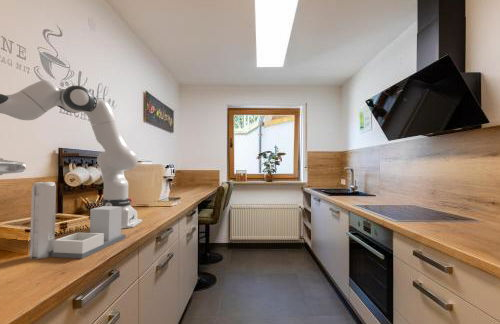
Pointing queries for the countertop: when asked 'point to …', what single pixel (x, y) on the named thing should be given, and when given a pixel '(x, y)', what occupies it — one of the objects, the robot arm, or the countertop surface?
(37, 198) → the white upright block
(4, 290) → the countertop surface
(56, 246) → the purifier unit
